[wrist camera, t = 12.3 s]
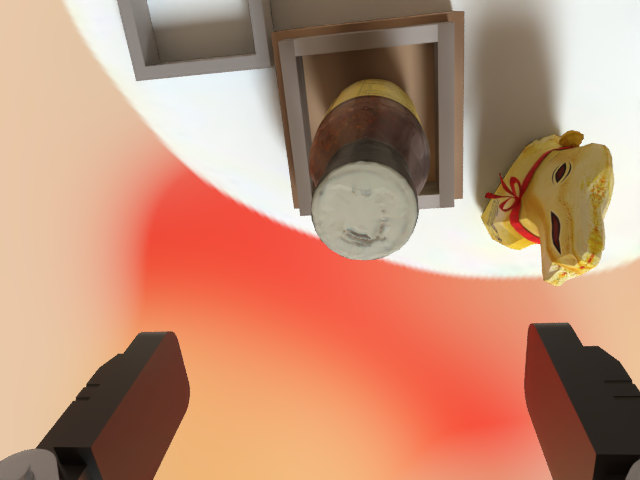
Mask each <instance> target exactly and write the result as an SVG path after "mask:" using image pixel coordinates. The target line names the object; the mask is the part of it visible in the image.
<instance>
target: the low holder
mask: <svg viewBox="0 0 640 480" xmlns="http://www.w3.org/2000/svg"><path fill="white" fill-rule="evenodd" d="M117 2H118V6H119V10H120V15H121V19H122V23H123V27H124V31H125V36H126V40H127V44H128V48H129V52H130V56H131V61H132V65H133V69H134V73H135V77H136V81H141V80H151V79H161V78H171V77H181V76H191V75H201V74H211V73H221V72H231V71H241V70H251V69H261V68H271V67H273V66H274V65H275V59H274V52H273V44H272V37H271V33H273V32H274V30H273V22H272V15H271V7H270V0H248V4H249V11H250V17H251V24H252V31H253V38H254V45H255V52H256V53H251V54H241V55H232V56H222V57H213V58H203V59H194V60H184V61H175V62H165V63H160V60H159V56H158V51H157V46H156V42H155V37H154V33H153V28H152V23H151V19H150V14H149V10H148V5H147V0H117Z"/></svg>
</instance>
